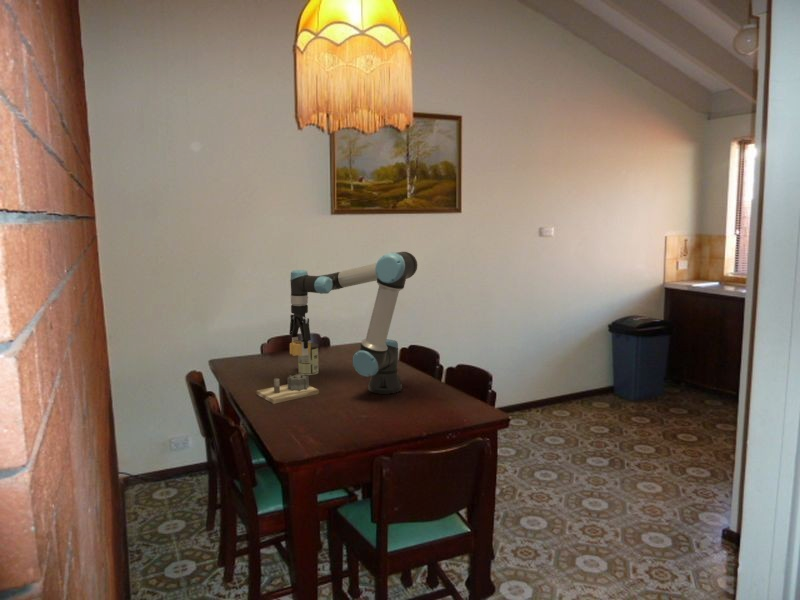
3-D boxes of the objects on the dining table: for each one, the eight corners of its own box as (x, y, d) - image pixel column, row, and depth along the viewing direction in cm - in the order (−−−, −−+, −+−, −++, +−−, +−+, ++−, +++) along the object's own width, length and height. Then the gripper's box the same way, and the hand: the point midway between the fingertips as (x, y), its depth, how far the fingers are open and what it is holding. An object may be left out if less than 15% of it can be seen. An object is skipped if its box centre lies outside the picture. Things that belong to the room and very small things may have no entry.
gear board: (318, 393, 256) (318, 376, 255) (273, 403, 242) (273, 385, 241) (300, 385, 268) (300, 369, 267) (256, 394, 255) (256, 377, 254)
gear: (313, 354, 264) (313, 343, 263) (295, 356, 259) (295, 346, 258) (304, 350, 271) (304, 339, 270) (287, 352, 266) (286, 342, 265)
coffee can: (301, 369, 296) (300, 342, 294) (321, 370, 295) (320, 343, 293) (295, 375, 286) (295, 347, 284) (316, 375, 285) (315, 347, 283)
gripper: (318, 307, 255) (318, 356, 258) (296, 300, 272) (296, 347, 276) (303, 308, 251) (303, 359, 254) (281, 301, 268) (282, 349, 271)
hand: (300, 353), depth 265 cm, fingers closed on gear, 9 cm apart
